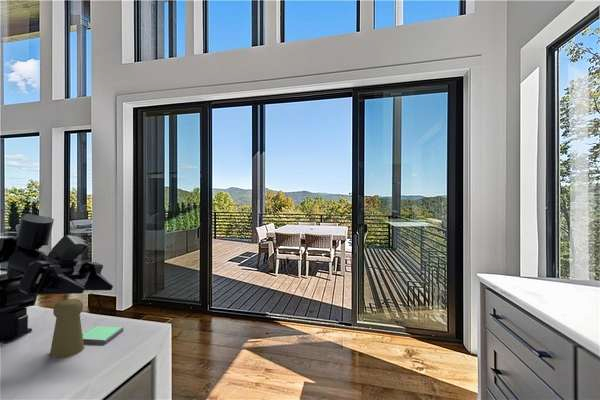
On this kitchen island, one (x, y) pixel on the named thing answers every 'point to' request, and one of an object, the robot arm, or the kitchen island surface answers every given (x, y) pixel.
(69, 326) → the cork
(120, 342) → the kitchen island surface
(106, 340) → the plate
